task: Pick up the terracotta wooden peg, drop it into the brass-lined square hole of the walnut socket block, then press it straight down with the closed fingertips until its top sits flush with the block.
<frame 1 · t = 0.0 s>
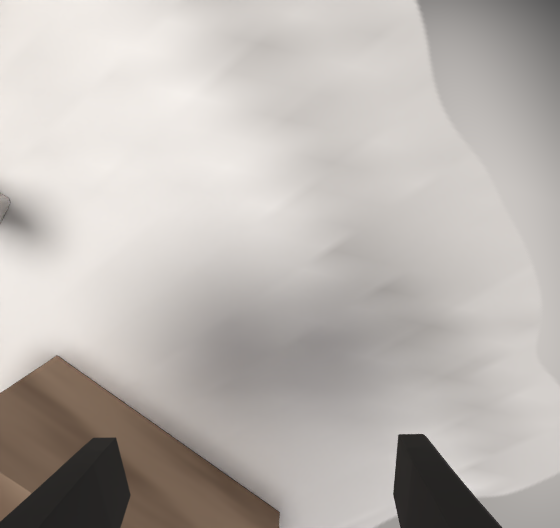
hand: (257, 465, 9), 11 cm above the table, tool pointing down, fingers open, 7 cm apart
socket block: (107, 515, 22), on the table
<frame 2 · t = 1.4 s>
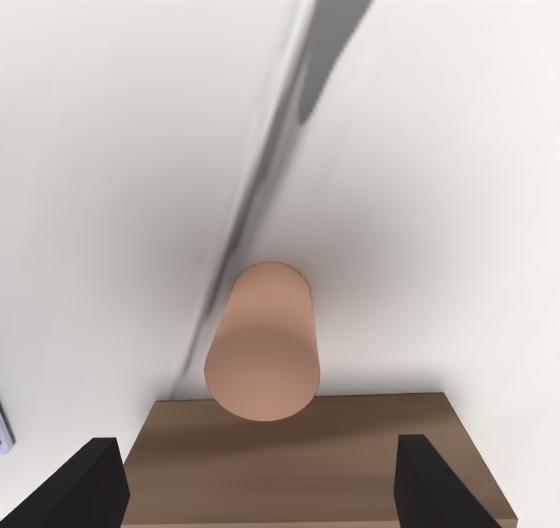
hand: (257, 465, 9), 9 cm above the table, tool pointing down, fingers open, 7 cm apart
peg: (271, 299, 18), on the table
socket block: (301, 489, 22), on the table
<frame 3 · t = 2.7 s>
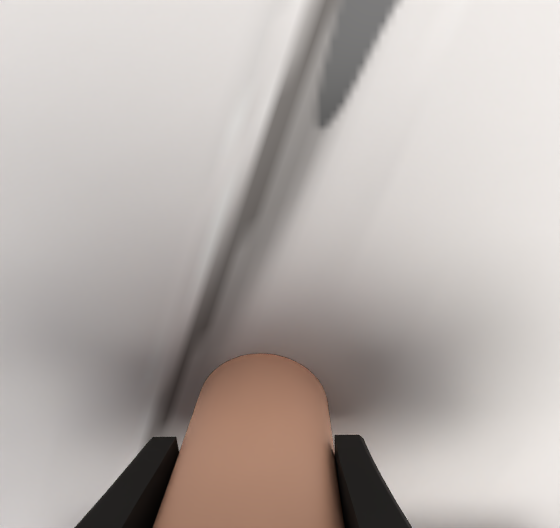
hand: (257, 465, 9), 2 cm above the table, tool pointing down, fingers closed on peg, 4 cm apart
peg: (263, 408, 11), on the table, touching gripper
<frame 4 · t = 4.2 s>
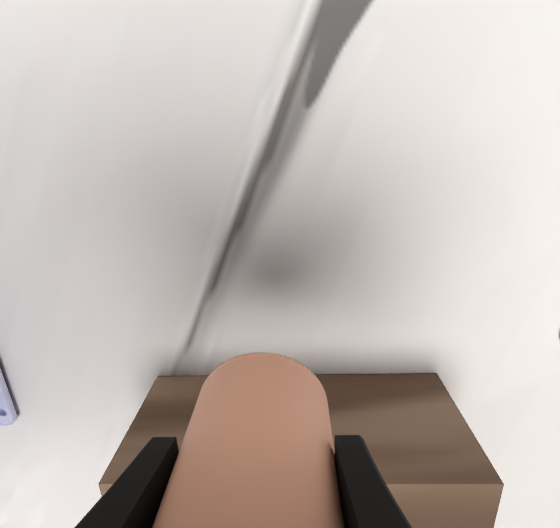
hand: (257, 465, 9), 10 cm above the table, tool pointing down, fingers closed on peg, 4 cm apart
peg: (263, 408, 11), point 8 cm above the table, touching gripper
socket block: (297, 466, 23), on the table
when the fingers open (7 cm above the table, at t = 5.8 s): peg drops 2 cm, resting on plunger floor.
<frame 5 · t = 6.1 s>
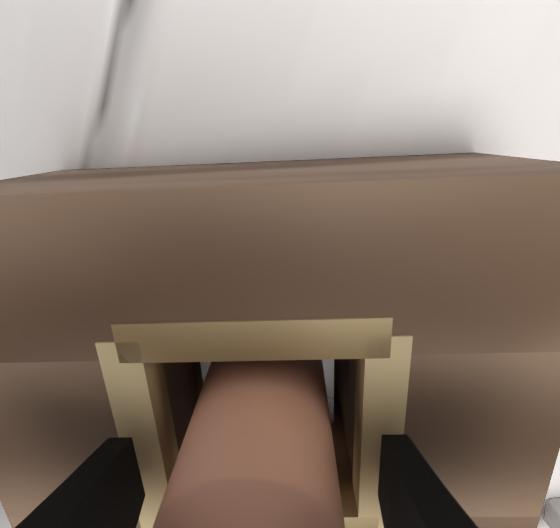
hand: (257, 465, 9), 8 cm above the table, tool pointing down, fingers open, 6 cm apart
peg: (267, 369, 13), point 4 cm above the table, touching plunger floor
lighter: (553, 505, 20), on the table
plunger floor: (267, 363, 13), point 3 cm above the table, slide at 0.3 cm, touching peg
socket block: (272, 322, 16), on the table
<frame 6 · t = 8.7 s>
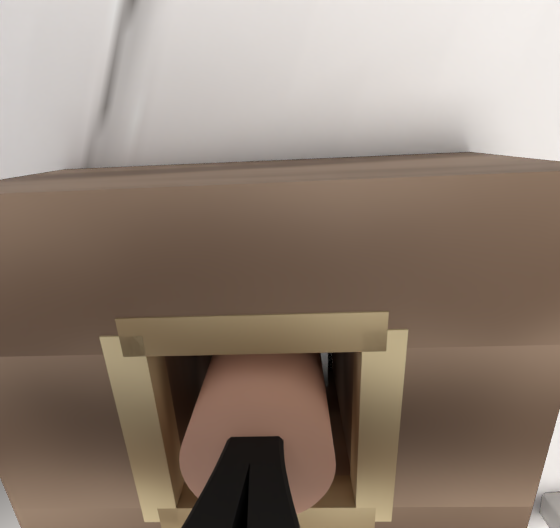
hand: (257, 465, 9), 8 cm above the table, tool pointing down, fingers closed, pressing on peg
peg: (269, 339, 15), point 2 cm above the table, touching gripper, plunger floor
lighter: (549, 500, 20), on the table
plunger floor: (270, 335, 15), point 1 cm above the table, slide at 2.0 cm, touching peg
socket block: (271, 318, 17), on the table
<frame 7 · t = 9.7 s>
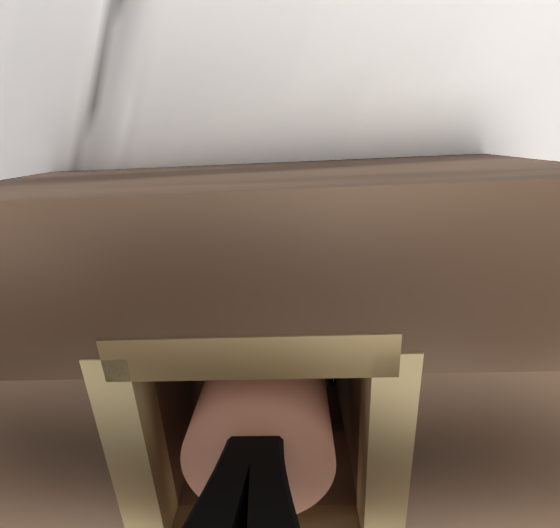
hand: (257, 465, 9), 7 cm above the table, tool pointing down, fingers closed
peg: (270, 339, 15), point 1 cm above the table, touching plunger floor
plunger floor: (271, 335, 15), resting in socket block, slide at 3.1 cm, touching peg
socket block: (271, 330, 16), on the table
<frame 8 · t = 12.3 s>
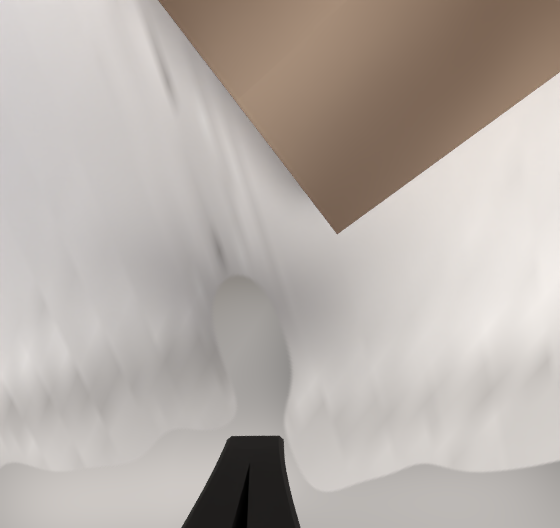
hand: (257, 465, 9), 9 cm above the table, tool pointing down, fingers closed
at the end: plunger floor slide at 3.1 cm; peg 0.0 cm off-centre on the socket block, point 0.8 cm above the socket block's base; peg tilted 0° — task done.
